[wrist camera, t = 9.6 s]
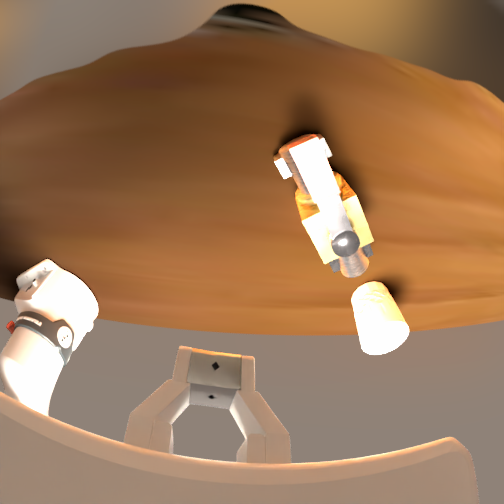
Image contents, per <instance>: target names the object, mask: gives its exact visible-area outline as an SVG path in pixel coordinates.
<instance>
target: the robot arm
mask: <svg viewBox="0 0 504 504" xmlns="http://www.w3.org/2000/svg"><path fill="white" fill-rule="evenodd" d="M17 284H18V287H19V289H20V291H19V292H18V294H17V295H16V297H15V299H14V303H15V307H16V309H17V313H18V318H17V319H16V323H15V324H14V322H13V321H10V322H9V323H8V324H7V327H6V328H7V329H8V330H9V331H10V332H11V334H12V335H11V337H10V339H9V340H8V342H7V344H6V346H5V347H4V349H3V351H2V352H1V354H0V378H1V380H2V383H3V386H4V390H5V394H4V393H2V392H0V504H479V495H478V487H477V480H476V474H475V469H474V464H473V460H472V457H471V455H470V452H469V451H468V450H467V449H466V448H465V447H464V446H463V445H462V444H461V443H460V442H459V441H458V440H456V439H455V438H453V437H446V438H443V439H440V440H437V441H433V442H430V443H427V444H423V445H419V446H415V447H412V448H407V449H403V450H398V451H394V452H389V453H384V454H379V455H373V456H368V457H361V458H354V459H346V460H337V461H327V462H314V463H291V449H290V434H289V433H288V432H287V430H286V429H285V428H284V427H283V425H282V424H281V422H280V421H279V420H278V418H277V417H276V416H275V414H274V413H273V412H272V410H271V409H270V407H269V406H268V405H267V403H266V402H265V400H264V399H263V398H262V396H261V395H260V394H259V392H255V359H254V357H252V356H242V355H237V354H229V353H221V352H212V351H206V350H200V349H195V348H190V347H184V346H180V347H179V349H178V353H177V358H176V363H175V368H174V373H173V378H172V380H167V381H166V382H165V383H164V384H163V385H162V386H161V387H159V388H158V389H157V390H156V391H155V392H154V393H153V394H152V395H150V396H149V397H148V398H147V399H146V400H145V401H144V402H143V403H141V404H140V405H139V406H138V407H137V408H136V409H135V410H133V411H132V412H131V413H130V417H129V421H128V425H127V429H126V433H125V438H124V442H123V443H122V442H118V441H115V440H111V439H108V438H105V437H102V436H99V435H95V434H93V433H90V432H87V431H84V430H81V429H79V428H76V427H73V426H71V425H68V424H66V423H63V422H61V421H58V420H56V419H54V418H52V417H49V416H48V409H49V402H50V398H51V394H52V391H53V389H54V386H55V383H56V381H57V378H58V376H59V373H60V371H61V369H62V368H63V367H65V365H66V363H67V362H68V361H69V359H70V355H71V353H72V351H74V350H75V349H76V348H77V346H78V345H79V343H80V341H81V340H82V338H83V337H84V335H85V334H86V332H87V331H91V329H92V328H93V320H94V319H95V318H96V317H97V314H98V305H97V301H96V299H95V297H94V295H93V294H92V292H91V291H90V290H89V288H88V287H87V286H86V285H85V284H84V283H83V282H82V281H81V280H80V279H78V278H77V277H76V276H74V275H73V274H71V273H69V272H67V271H65V270H63V269H61V268H59V267H58V266H57V265H56V264H55V263H54V262H52V261H51V260H49V259H45V260H44V261H42V262H40V263H38V264H37V265H35V266H33V267H32V268H30V269H28V270H27V271H25V272H24V273H22V274H20V275H19V276H18V277H17ZM189 404H195V405H203V406H211V407H217V408H224V409H230V412H231V414H232V415H233V417H234V419H235V421H236V423H237V424H238V426H239V428H240V429H241V431H242V433H243V435H244V437H245V438H246V439H245V441H244V442H243V444H242V445H241V447H240V448H239V450H238V451H237V458H236V462H227V461H216V460H207V459H200V458H192V457H186V456H180V455H174V454H173V447H174V441H173V430H172V426H171V424H172V423H173V422H174V421H175V420H176V419H177V417H178V416H179V415H180V414H181V413H182V412H183V411H184V410H185V409H186V407H187V406H188V405H189Z"/></svg>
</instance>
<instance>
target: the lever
mask: <svg viewBox="0 0 504 504" xmlns="http://www.w3.org/2000/svg"><path fill="white" fill-rule="evenodd" d="M288 148H289V150H290V152H291V154H292V156H293V158H294V160H295V162H296V164H297V167H298V169H299V171H300V173H301V175H302V177H303V179H304V181H305V183H306V186H307V188H308V190H309V192H310V194H311V196H312V199H313V201H314V203H317V205H318V207H319V209H320V212H321V214H322V216H323V219H324V221H325V223H326V226H327V228H328V230H329V233H330V236H329V242H330V245H331V247H332V250H333V252H334V253H335V254H336V255H337V256H339V257H349V256H351V255H353V254H354V253H355V252H356V251H357V250H358V249H359V246H360V239H359V237H358V235H357V233H356V232H355V230H354V228H352V227H351V225H350V222H349V219H348V217H347V214H346V211H345V209H344V206H343V203H342V201H341V198H340V196H339V193H341V192H340V190H339V187H338V185H337V182H336V180H335V177H334V175H333V172H332V170H331V167H330V165H329V163H328V160H327V158H326V156H325V153H324V151H323V149H322V147H321V144H320V142H319V140H318V138H317V136H316V135H315V134H313V135H310V136H308V137H306V138H303V139H301V140H299V141H297V142H294V143H292V144H290V145H288Z"/></svg>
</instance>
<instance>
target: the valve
mask: <svg viewBox="0 0 504 504" xmlns="http://www.w3.org/2000/svg"><path fill="white" fill-rule="evenodd" d="M310 135H312V134H308V135H303V136H300V137H298V138H296V139H293V140H292V141H290V142H288V143H287V144H285V145H284V146H282V147H281V148H280V150H279V153H278V154H277V155H275V156H273V157H274V162H275V164H276V165H277V167H278V169H279V171H280V172H281V174H282V176H283V178H284V179H286V178H288V177H290V176H293V178H294V180H295V182H296V183H297V185H298V188H297V190H296V192H295V195H296V197H295V199H296V202H297V206H298V209H299V213H300V217H301V220H302V222H303V224H304V226H305V228H306V230H307V232H308V233H309V235H310V237H311V239H312V241H313V243H314V245H315V247H316V248H317V250H318V252H319V254H320V256H321V258H322V260H323V262H324V264H326V263H328V262H329V264H330V266H331V268H332V270H333V272H334V273H335V272H337V271H339V270H341V272H342V274H343V275H344V276H345V277H349V278H352V277H357V276H359V275H361V274H363V273H364V272H365V271H366V270H367V268H368V266H369V261H368V258H367V257H370V256H372V255H373V252H372V249H371V246H370V244H369V243H371V242H373V241H374V240H373V237H372V235H371V232H370V229H369V226H368V224H367V221H366V219H365V216H364V213H363V211H362V208H361V206H360V203H359V201H358V198H357V196H356V194H355V193H354V191H353V190H352V189H351V188H350V186H349V185H348V184H347V182H346V181H345V180H344V179H343V177H342V176H341V175H339V174H338V173H337V172H333V175H334V177H335V180H336V182H337V185H338V187H339V190H340V192H341V193H339V196H340V198H341V201H342V203H343V206H344V209H345V211H346V214H347V217H348V219H349V222H350V225H351V227H352V228H354V230H355V232H356V233H357V235H358V237H359V239H360V246H359V249H358V250H357V251H356V252H355V253H354V254H353V255H351V256H349V257H339V256H337V255H336V254H335V253H334V252H333V250H332V247H331V245H330V242H329V236H330V233H329V230H328V228H327V226H326V223H325V221H324V219H323V216H322V214H321V212H320V209H319V207H318V205H317V203H314V201H313V199H312V196H311V194H310V192H309V190H308V188H307V186H306V183H305V181H304V179H303V177H302V175H301V173H300V171H299V169H298V167H297V164H296V162H295V160H294V158H293V156H292V154H291V152H290V150H289V148H288V145H290V144H292V143H294V142H297V141H299V140H301V139H303V138H306V137H308V136H310ZM316 136H317V138H318V140H319V142H320V144H321V147H322V149H323V151H324V153H325V156H326V158H328V157H330V156H332V154H331V152H330V149H329V147H328V145H327V143H326V141H325V139H324V138H323V137H322V136H321V135H320V134H317V135H316Z"/></svg>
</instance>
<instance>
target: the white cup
mask: <svg viewBox="0 0 504 504" xmlns="http://www.w3.org/2000/svg"><path fill="white" fill-rule="evenodd" d="M351 301H352V305H353V308H354V316H355V321H356V325H357V329H358V333H359V337H360V342H361V346H362V349H363V351H364V352H366V353H368V354H374V355H376V354H383V353H386V352H389V351H391V350H393V349H395V348H396V347H398V346H399V345H401V344H402V343H403V342H404V340H405V339H406V338H407V336H408V333H409V328H408V325H407V323H406V322H405V320H404V318H403V316H402V314H401V312H400V310H399V308H398V306H397V305H396V303H395V301H394V299H393V298H392V296H391V295H390V293H389V291H388V290H387V288H386V286H384V285H383V284H382V283H381V282H376V281H373V282H368V283H365V284H363V285H362V286H360V287H358V288H357V290H356V291H355V292H354V293H353V296H352V299H351Z"/></svg>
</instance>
